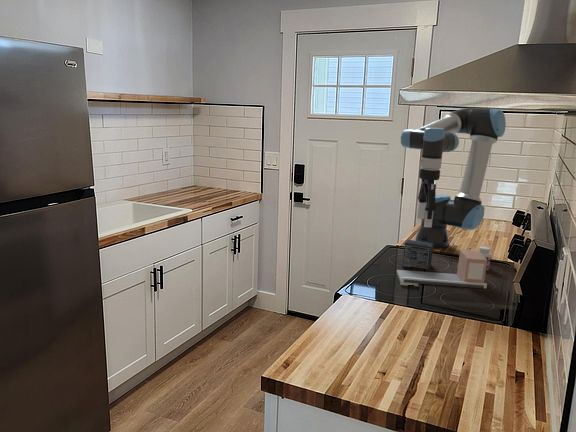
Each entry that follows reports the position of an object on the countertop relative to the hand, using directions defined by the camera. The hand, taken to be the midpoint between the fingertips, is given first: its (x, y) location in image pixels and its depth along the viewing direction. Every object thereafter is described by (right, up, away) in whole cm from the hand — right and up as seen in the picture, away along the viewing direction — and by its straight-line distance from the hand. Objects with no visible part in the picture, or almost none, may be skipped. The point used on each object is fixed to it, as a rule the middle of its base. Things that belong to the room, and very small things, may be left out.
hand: (423, 222), depth 189 cm
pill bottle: (+24, -19, +5) cm, 32 cm away
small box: (-2, -18, +5) cm, 19 cm away
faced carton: (+14, -21, -10) cm, 28 cm away
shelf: (+3, -22, -9) cm, 24 cm away
